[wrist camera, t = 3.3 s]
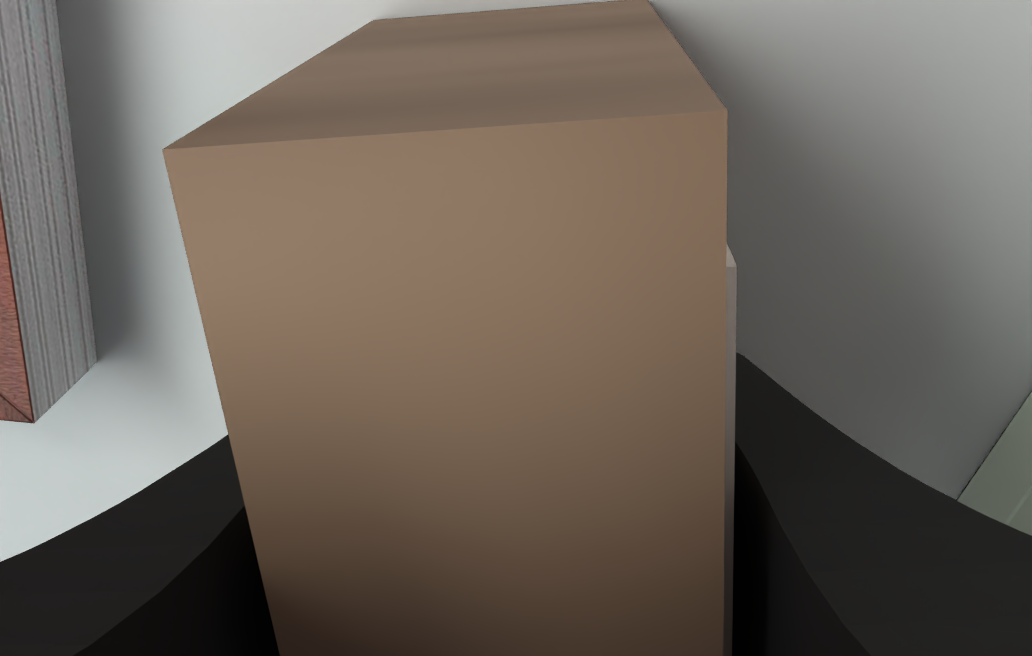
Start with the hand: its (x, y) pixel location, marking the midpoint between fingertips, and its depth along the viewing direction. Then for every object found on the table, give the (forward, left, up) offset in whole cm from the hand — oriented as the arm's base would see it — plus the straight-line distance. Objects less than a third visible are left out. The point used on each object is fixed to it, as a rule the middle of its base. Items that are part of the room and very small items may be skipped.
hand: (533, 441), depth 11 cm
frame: (0, 0, -2) cm, 2 cm away
